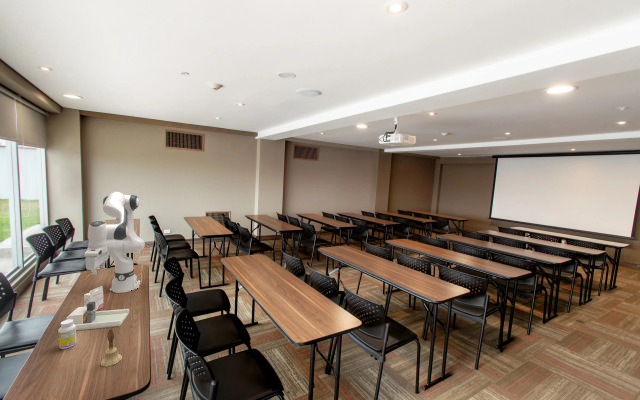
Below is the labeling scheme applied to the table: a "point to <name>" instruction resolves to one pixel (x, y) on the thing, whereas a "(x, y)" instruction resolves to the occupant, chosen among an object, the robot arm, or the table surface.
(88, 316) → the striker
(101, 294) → the ink cartridge box
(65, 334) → the supplement bottle
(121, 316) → the tray
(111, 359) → the hand bell
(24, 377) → the table surface
